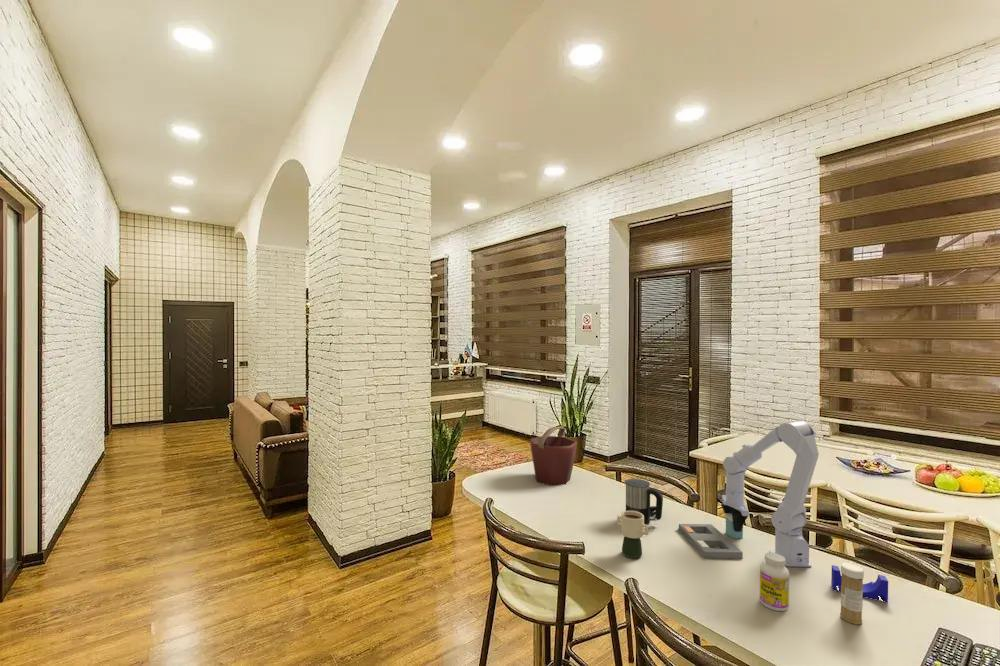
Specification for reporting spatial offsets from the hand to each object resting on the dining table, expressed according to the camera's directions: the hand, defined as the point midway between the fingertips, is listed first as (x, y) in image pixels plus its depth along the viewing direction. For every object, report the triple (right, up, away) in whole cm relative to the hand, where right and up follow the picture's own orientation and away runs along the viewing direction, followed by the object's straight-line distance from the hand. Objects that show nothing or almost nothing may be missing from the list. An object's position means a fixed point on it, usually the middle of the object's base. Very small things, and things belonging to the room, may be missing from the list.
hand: (734, 528), depth 162 cm
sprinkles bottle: (+5, -3, -47) cm, 47 cm away
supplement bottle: (-11, -3, -41) cm, 43 cm away
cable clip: (+17, -4, -35) cm, 39 cm away
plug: (0, -3, 0) cm, 3 cm away
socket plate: (-12, -2, -6) cm, 14 cm away
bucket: (-58, -2, +57) cm, 81 cm away
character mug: (-41, -2, -15) cm, 44 cm away
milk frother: (-28, -2, +14) cm, 31 cm away
